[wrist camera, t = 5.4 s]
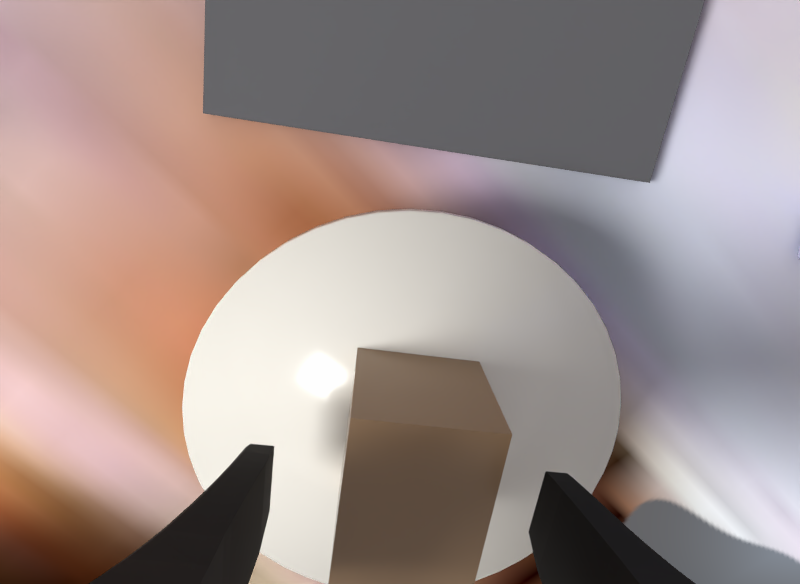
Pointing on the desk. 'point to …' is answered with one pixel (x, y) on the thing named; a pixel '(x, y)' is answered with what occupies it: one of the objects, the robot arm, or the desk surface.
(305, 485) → the lid
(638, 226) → the desk surface
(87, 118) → the desk surface
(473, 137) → the mat
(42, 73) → the desk surface
